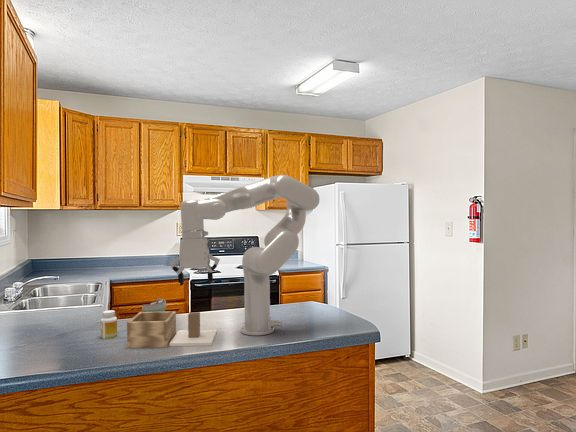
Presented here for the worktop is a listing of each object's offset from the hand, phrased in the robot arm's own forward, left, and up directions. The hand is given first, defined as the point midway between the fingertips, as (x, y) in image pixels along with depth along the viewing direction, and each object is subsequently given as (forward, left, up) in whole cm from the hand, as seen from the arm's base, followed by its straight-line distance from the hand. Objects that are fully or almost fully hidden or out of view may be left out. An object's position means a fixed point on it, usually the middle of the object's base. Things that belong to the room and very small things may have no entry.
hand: (195, 284), depth 152 cm
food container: (+18, -18, -20) cm, 32 cm away
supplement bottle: (+32, -5, -20) cm, 38 cm away
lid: (+1, 0, -19) cm, 19 cm away
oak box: (+15, +1, -20) cm, 25 cm away
